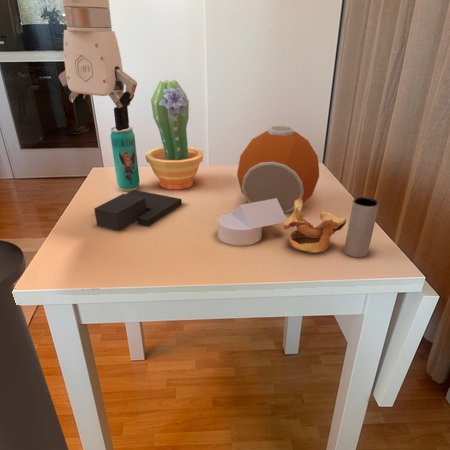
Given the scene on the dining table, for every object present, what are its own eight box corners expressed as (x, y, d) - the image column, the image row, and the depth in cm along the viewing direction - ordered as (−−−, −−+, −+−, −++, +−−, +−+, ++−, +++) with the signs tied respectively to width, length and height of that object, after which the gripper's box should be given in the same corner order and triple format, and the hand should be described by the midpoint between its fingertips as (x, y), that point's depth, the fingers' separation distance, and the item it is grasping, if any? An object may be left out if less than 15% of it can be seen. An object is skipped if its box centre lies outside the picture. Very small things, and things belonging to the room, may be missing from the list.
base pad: (97, 214, 96) (96, 208, 95) (134, 195, 106) (133, 189, 106) (148, 226, 91) (147, 219, 90) (181, 204, 101) (181, 198, 100)
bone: (286, 257, 80) (290, 216, 75) (274, 235, 88) (277, 196, 83) (347, 254, 81) (355, 213, 76) (329, 232, 89) (335, 194, 84)
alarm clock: (318, 194, 107) (328, 122, 98) (311, 221, 93) (321, 140, 84) (245, 187, 112) (248, 117, 102) (228, 211, 98) (229, 134, 88)
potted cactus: (138, 190, 109) (126, 83, 95) (159, 172, 121) (151, 75, 107) (195, 196, 106) (191, 86, 92) (211, 176, 119) (209, 77, 104)
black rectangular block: (97, 225, 91) (93, 208, 89) (125, 209, 98) (123, 193, 96) (119, 231, 89) (116, 213, 87) (146, 214, 96) (145, 197, 94)
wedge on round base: (263, 220, 94) (211, 231, 89) (265, 191, 90) (210, 201, 85) (286, 236, 87) (230, 249, 82) (288, 205, 83) (230, 217, 79)
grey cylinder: (371, 257, 80) (383, 205, 74) (348, 258, 80) (358, 206, 74) (362, 246, 84) (373, 196, 78) (340, 247, 83) (349, 197, 77)
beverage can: (122, 193, 107) (113, 132, 99) (115, 187, 111) (106, 127, 103) (143, 189, 110) (137, 129, 101) (135, 183, 114) (128, 124, 105)
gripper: (34, 19, 72) (54, 124, 82) (115, 22, 66) (126, 135, 76) (66, 20, 78) (81, 118, 88) (143, 22, 72) (150, 128, 81)
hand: (102, 126), depth 82 cm, fingers open, 9 cm apart
